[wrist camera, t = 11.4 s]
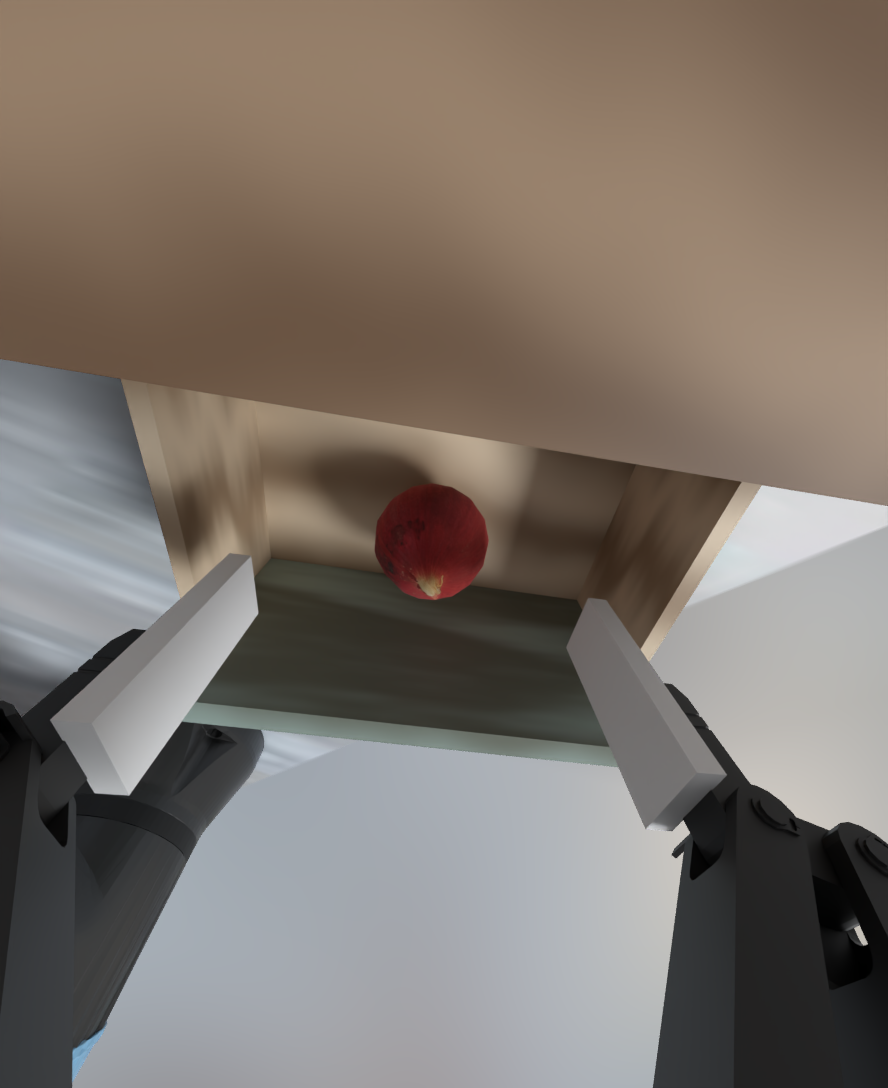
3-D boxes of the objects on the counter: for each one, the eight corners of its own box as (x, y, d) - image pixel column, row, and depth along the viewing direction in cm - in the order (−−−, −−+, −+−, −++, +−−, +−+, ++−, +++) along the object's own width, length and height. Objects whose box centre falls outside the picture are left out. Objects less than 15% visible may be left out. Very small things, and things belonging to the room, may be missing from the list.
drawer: (587, 622, 27) (675, 792, 17) (250, 577, 25) (110, 735, 15) (684, 418, 20) (954, 493, 9) (215, 336, 18) (-113, 311, 7)
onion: (385, 545, 22) (353, 633, 15) (391, 459, 20) (355, 517, 13) (473, 558, 23) (480, 650, 16) (492, 474, 20) (510, 539, 13)
